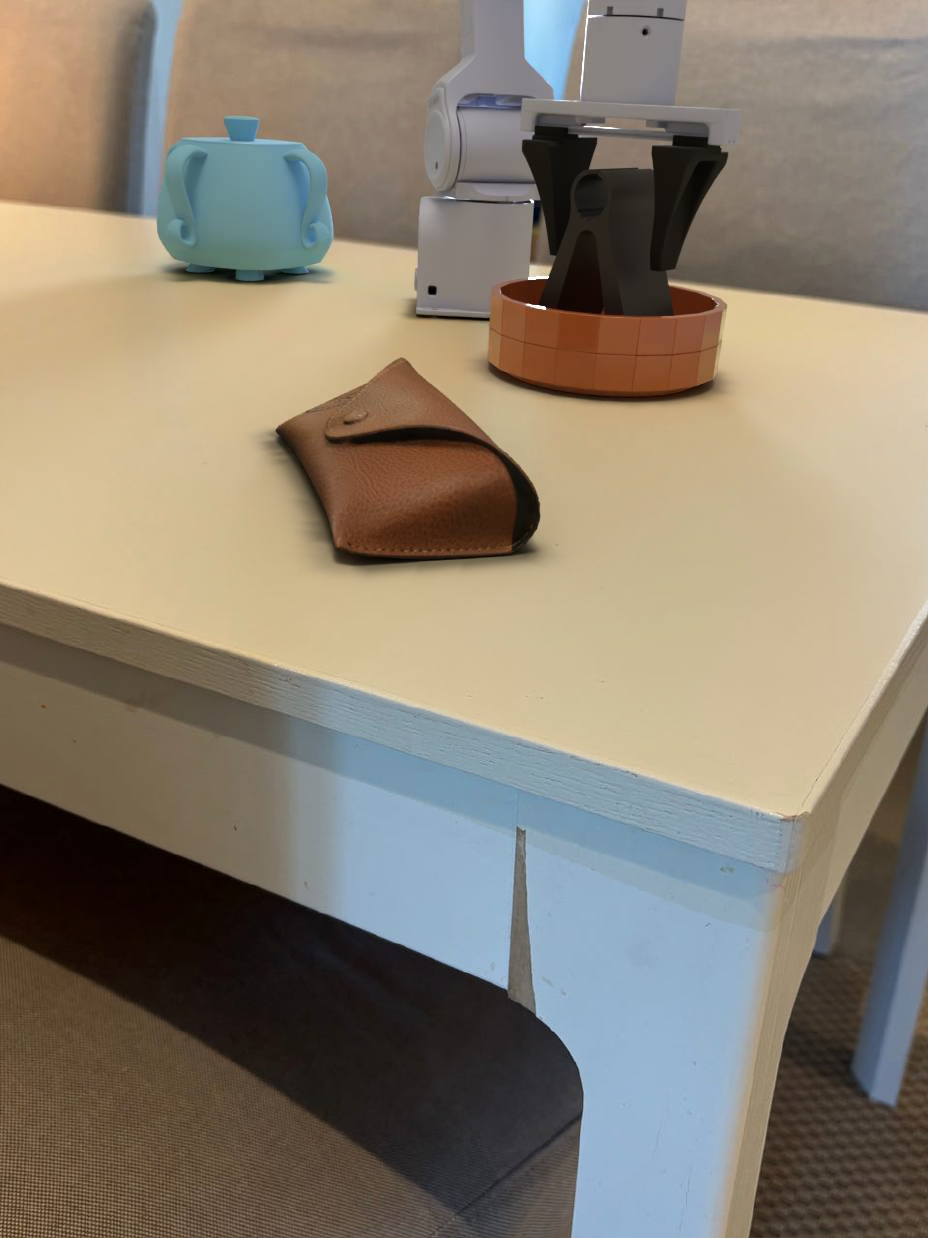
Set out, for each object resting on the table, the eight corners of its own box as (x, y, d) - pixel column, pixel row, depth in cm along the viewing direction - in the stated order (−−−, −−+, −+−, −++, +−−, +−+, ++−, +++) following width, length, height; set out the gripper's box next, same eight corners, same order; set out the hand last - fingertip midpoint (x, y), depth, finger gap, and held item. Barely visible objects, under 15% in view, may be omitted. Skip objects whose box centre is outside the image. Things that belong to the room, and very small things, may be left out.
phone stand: (681, 368, 71) (707, 173, 66) (633, 382, 67) (657, 175, 61) (570, 344, 76) (586, 162, 71) (519, 356, 72) (532, 163, 67)
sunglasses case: (262, 423, 55) (326, 309, 54) (375, 482, 59) (438, 376, 57) (335, 557, 40) (427, 404, 39) (481, 625, 44) (571, 487, 42)
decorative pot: (334, 262, 111) (333, 118, 105) (332, 286, 97) (330, 121, 91) (174, 257, 109) (164, 110, 104) (148, 281, 95) (134, 112, 89)
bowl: (486, 394, 65) (491, 310, 63) (487, 342, 79) (491, 271, 76) (735, 406, 65) (748, 323, 63) (693, 352, 78) (703, 282, 76)
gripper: (779, 25, 61) (742, 271, 67) (571, 24, 69) (554, 244, 75) (722, 15, 56) (687, 281, 62) (506, 16, 64) (493, 251, 70)
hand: (610, 261), depth 69 cm, fingers open, 7 cm apart
